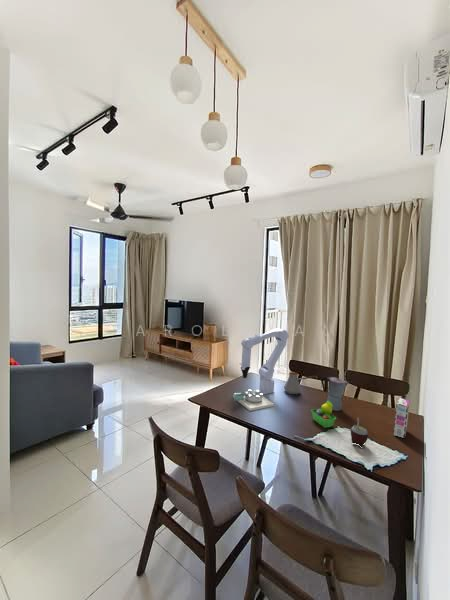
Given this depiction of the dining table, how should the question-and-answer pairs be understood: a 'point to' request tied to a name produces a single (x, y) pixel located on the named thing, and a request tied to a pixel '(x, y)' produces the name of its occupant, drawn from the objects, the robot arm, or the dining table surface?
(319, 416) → the fruit basket
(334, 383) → the moka pot
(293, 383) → the coffee pot
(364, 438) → the mate gourd
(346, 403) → the dining table surface
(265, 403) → the base plate
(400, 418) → the candy bar box
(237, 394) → the teal elongated tool
